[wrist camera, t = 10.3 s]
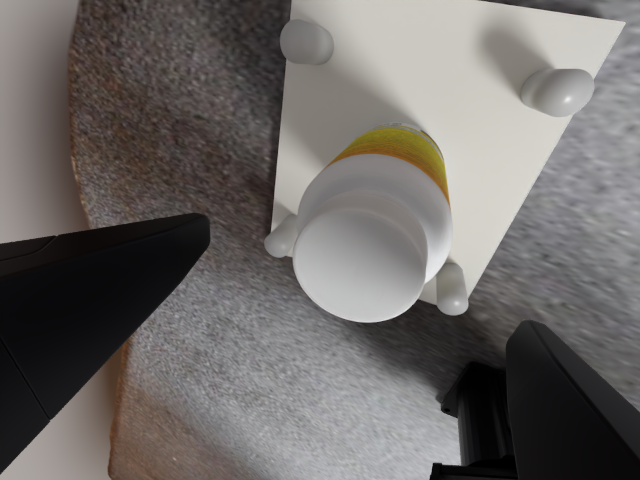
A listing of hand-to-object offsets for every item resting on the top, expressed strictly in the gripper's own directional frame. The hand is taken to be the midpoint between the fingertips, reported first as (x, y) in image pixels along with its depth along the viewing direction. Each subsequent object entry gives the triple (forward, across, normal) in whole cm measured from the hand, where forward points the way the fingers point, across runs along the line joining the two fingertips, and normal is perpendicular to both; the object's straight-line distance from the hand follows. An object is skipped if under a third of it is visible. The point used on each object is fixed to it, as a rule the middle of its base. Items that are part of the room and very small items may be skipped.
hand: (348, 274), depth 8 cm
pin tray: (+12, 0, 0) cm, 12 cm away
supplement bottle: (+11, 0, 0) cm, 11 cm away
